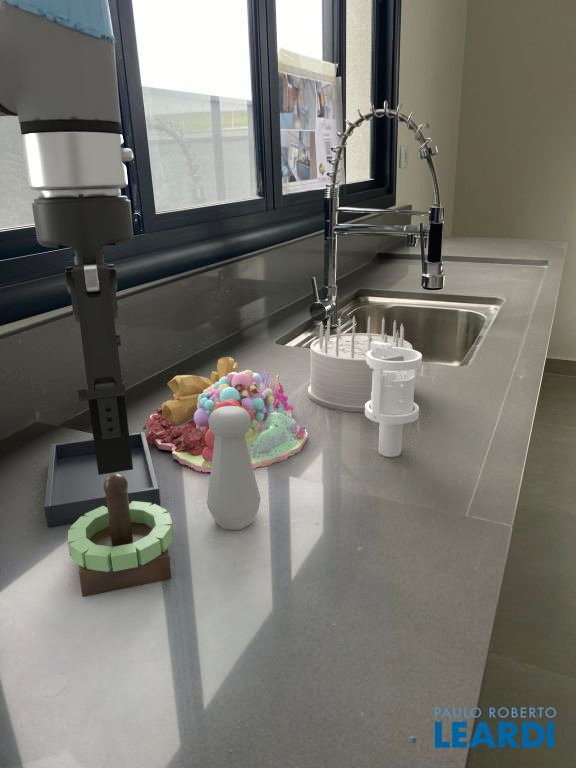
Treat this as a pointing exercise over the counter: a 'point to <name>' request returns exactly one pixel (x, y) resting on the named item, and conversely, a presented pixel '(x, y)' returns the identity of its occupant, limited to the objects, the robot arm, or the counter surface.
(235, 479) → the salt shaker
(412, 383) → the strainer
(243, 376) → the multicoloured round lumpy mound
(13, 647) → the counter surface
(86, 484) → the tray
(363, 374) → the cake
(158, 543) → the ring
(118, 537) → the stand
